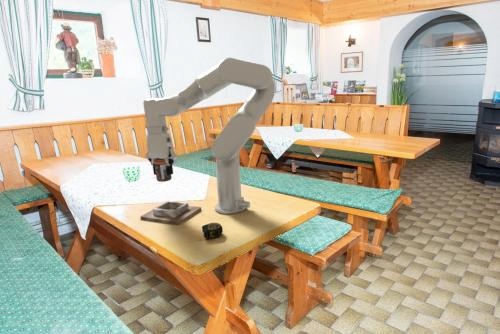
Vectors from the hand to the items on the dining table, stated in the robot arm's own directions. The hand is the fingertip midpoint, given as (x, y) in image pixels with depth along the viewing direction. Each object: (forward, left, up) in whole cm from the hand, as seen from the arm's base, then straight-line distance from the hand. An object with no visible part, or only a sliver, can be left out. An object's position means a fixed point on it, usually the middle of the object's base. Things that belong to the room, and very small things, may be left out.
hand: (163, 173), depth 143 cm
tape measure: (-30, +16, -16) cm, 37 cm away
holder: (-4, +3, -16) cm, 17 cm away
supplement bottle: (0, 0, -3) cm, 3 cm away
